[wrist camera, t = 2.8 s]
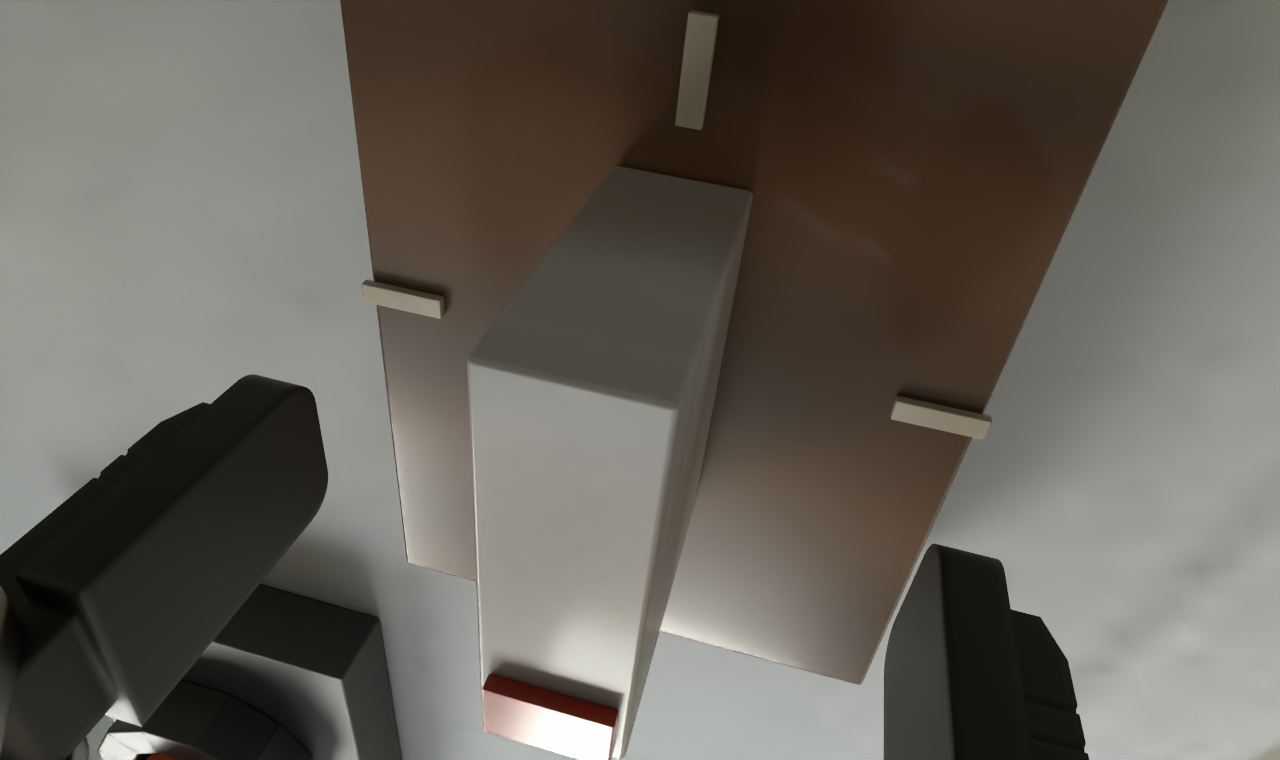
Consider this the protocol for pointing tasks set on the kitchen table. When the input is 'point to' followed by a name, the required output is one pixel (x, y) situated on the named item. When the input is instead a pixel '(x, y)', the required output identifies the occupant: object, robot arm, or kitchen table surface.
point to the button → (160, 757)
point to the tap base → (744, 252)
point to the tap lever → (596, 453)
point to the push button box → (275, 691)
